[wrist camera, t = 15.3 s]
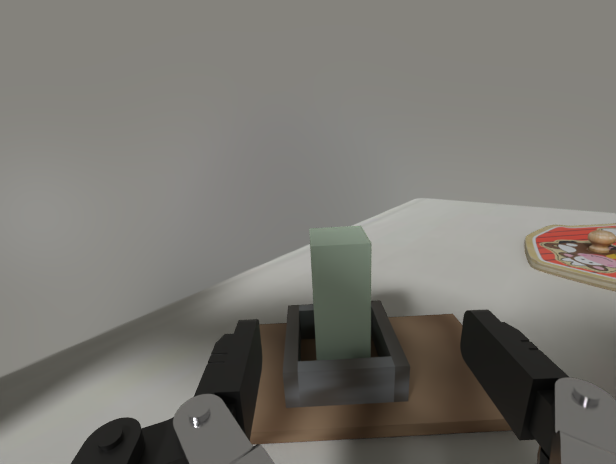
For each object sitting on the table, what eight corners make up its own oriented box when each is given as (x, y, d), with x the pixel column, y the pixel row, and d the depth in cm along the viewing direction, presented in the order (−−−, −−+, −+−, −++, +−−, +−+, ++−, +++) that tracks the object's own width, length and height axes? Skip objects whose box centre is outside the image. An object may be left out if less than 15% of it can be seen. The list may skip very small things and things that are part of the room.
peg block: (317, 381, 24) (310, 246, 21) (315, 347, 28) (309, 228, 24) (370, 379, 24) (371, 243, 21) (361, 345, 28) (360, 225, 24)
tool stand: (228, 445, 20) (219, 397, 19) (254, 333, 32) (250, 298, 31) (535, 428, 20) (546, 379, 19) (451, 322, 32) (455, 286, 31)
